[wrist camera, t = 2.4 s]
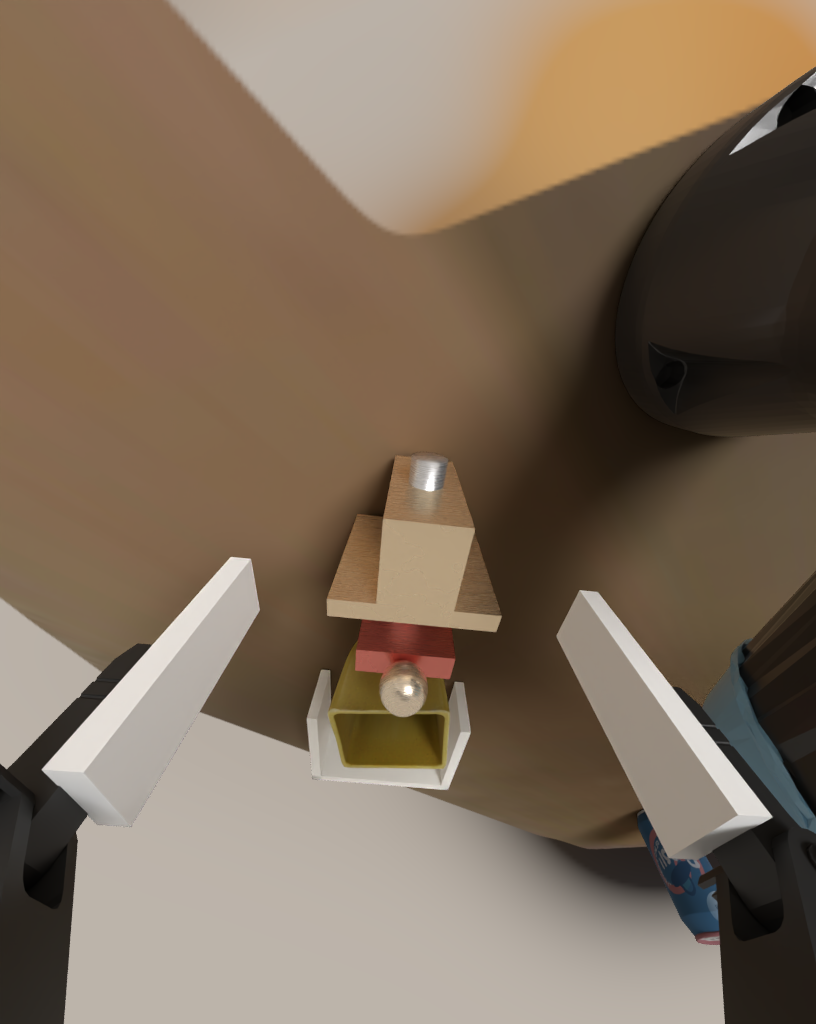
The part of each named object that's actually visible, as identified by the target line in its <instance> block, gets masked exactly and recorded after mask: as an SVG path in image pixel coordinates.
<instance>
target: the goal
mask: <svg viewBox="0 0 816 1024" xmlns="http://www.w3.org/2000/svg"><path fill="white" fill-rule="evenodd" d="M330 704H331V679H330V670H322V669H321V672H320V675H319V679H318V682H317V685H316V689H315V692H314V695H313V699H312V702H311V706H310V709H309V712H308V716H307V727H308V738H309V749H310V759H311V771H312V779H315V780H328V781H341V782H354V783H366V784H378V785H391V786H403V787H416V788H429V789H441V790H448V788H449V786H450V783H451V781H452V778H453V776H454V773H455V771H456V768H457V766H458V763H459V761H460V759H461V756H462V754H463V751H464V749H465V746H466V744H467V741H468V739H469V736H470V734H471V729H470V722H469V716H468V709H467V702H466V695H465V688H464V682H455V683H454V686H453V690H452V693H451V696H450V699H449V703H448V704H449V710H450V726H449V736H448V749H447V764H446V766H445V768H444V769H414V768H408V769H405V768H348V767H344V766H343V764H342V762H341V759H340V755H339V750H338V746H337V742H336V738H335V735H334V733H333V729H332V727H331V724H330V721H329V718H328V710H329V707H330Z"/></svg>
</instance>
